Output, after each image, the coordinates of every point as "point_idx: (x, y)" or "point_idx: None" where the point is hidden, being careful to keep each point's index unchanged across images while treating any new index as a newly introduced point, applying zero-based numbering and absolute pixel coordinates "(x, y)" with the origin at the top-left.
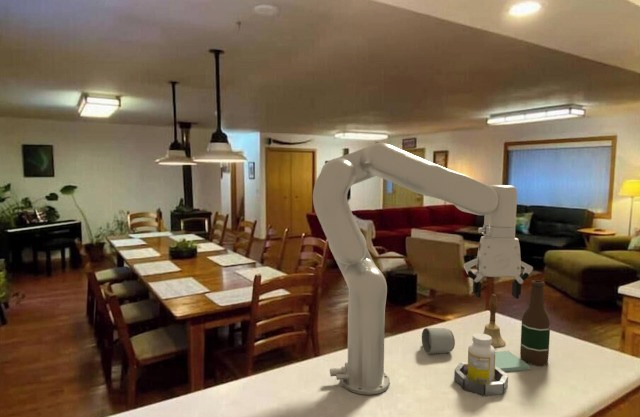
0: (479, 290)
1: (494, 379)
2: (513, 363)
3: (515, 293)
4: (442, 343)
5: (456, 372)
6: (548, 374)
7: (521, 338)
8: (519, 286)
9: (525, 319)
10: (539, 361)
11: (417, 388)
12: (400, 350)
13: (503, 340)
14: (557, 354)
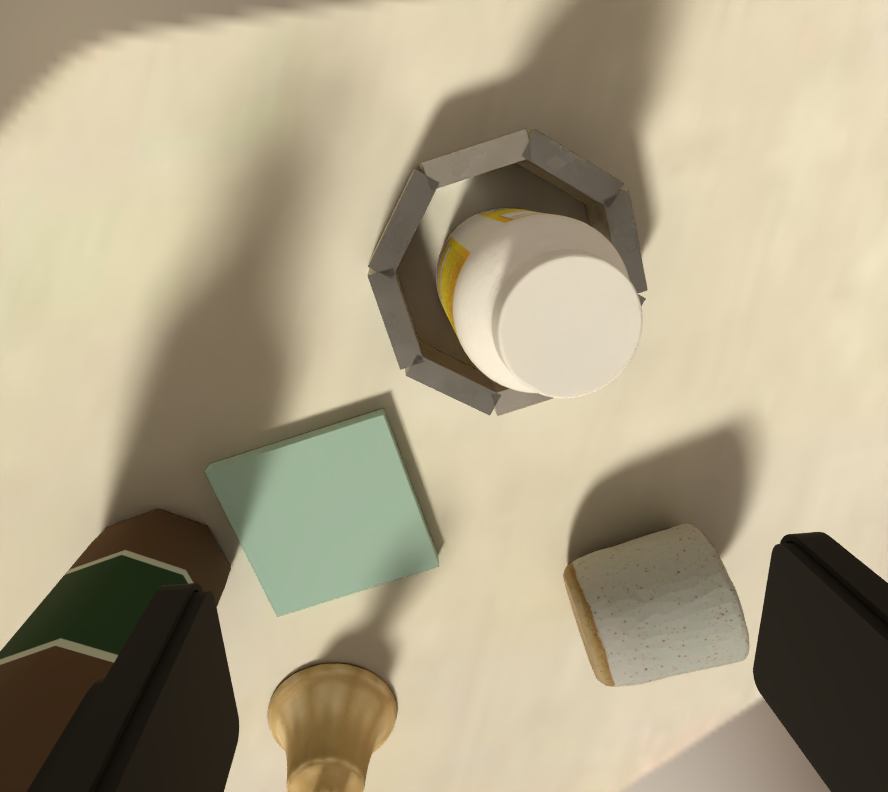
0: (885, 599)
1: (439, 263)
2: (285, 484)
3: (192, 662)
4: (646, 558)
5: (641, 269)
6: (125, 427)
7: None
8: (47, 776)
9: None
10: (142, 520)
11: (828, 172)
12: None
13: (275, 722)
14: None
